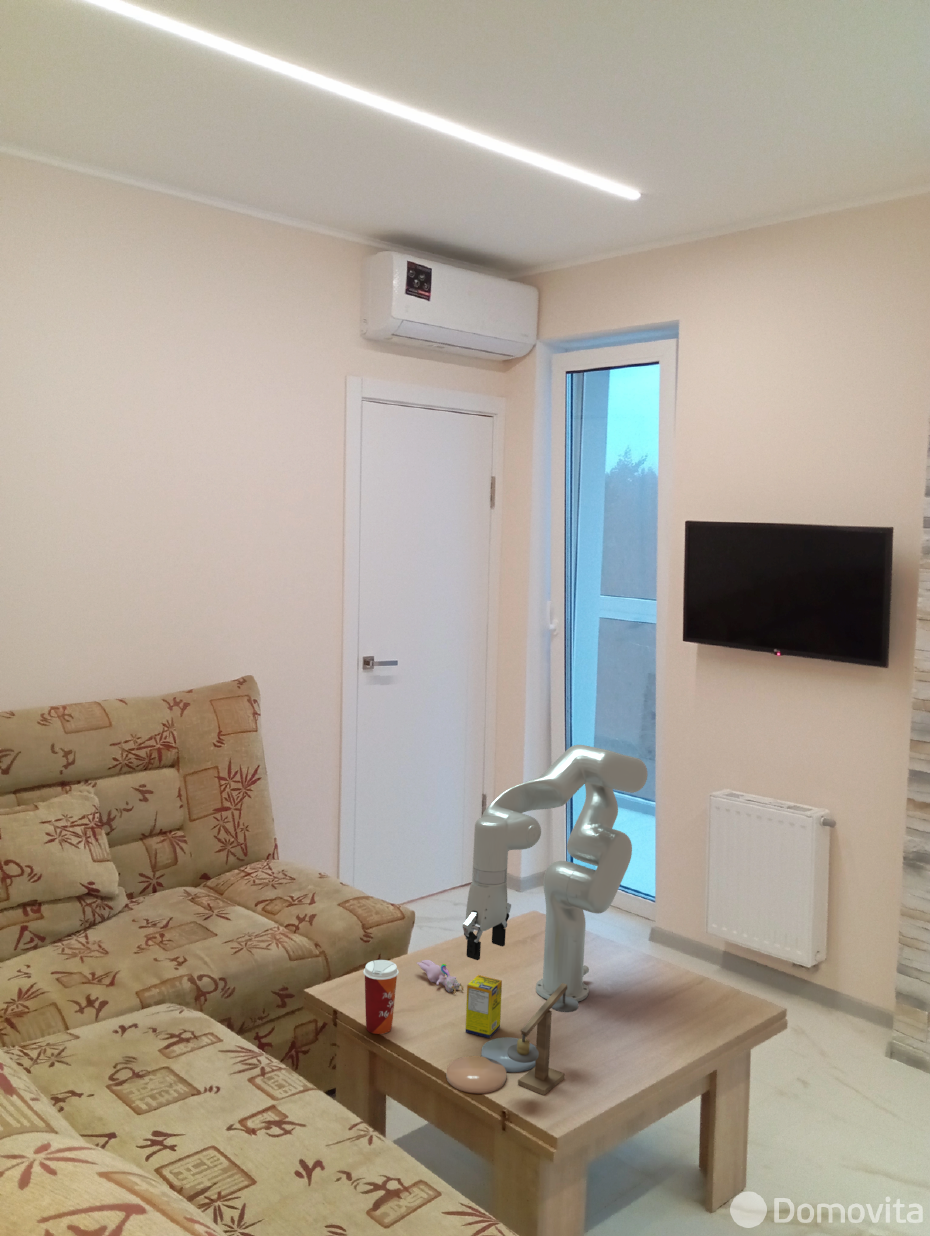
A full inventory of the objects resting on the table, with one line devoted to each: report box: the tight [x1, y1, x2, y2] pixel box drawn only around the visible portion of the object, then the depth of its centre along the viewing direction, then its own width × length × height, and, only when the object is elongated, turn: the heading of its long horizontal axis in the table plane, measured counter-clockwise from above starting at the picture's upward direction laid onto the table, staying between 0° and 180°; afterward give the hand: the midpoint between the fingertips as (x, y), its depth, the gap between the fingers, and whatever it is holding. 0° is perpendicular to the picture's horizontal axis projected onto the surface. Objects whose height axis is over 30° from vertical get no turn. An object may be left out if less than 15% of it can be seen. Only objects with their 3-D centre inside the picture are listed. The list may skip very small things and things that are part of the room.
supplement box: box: [465, 974, 503, 1039], centre depth 220 cm, size 6×6×11 cm
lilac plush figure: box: [416, 959, 464, 996], centre depth 243 cm, size 6×6×15 cm
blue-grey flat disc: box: [481, 1036, 536, 1073], centre depth 209 cm, size 12×12×1 cm
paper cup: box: [362, 959, 399, 1035], centre depth 219 cm, size 8×8×14 cm
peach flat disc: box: [445, 1055, 507, 1095], centre depth 201 cm, size 12×12×1 cm
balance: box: [507, 983, 579, 1096], centre depth 200 cm, size 21×6×18 cm, turn 145°
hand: (485, 951), depth 219 cm, fingers open, 9 cm apart
